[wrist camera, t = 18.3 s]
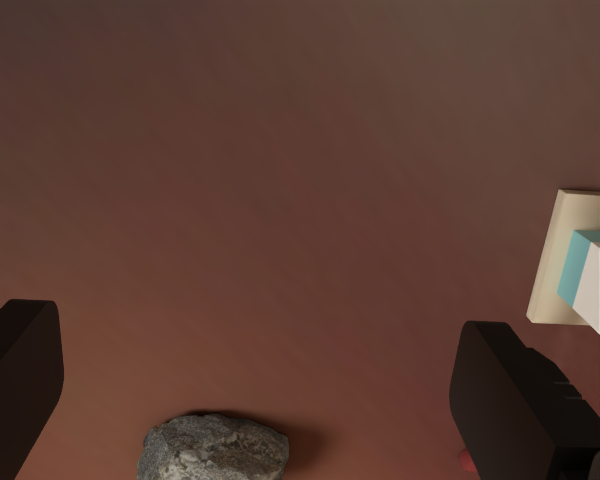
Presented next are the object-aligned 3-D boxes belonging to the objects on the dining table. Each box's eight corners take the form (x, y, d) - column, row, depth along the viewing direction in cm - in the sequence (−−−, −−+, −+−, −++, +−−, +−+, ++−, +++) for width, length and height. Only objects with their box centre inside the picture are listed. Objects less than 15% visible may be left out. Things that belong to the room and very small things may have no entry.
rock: (155, 493, 51) (139, 555, 45) (127, 419, 48) (106, 475, 42) (295, 466, 51) (299, 525, 45) (276, 390, 48) (277, 442, 42)
